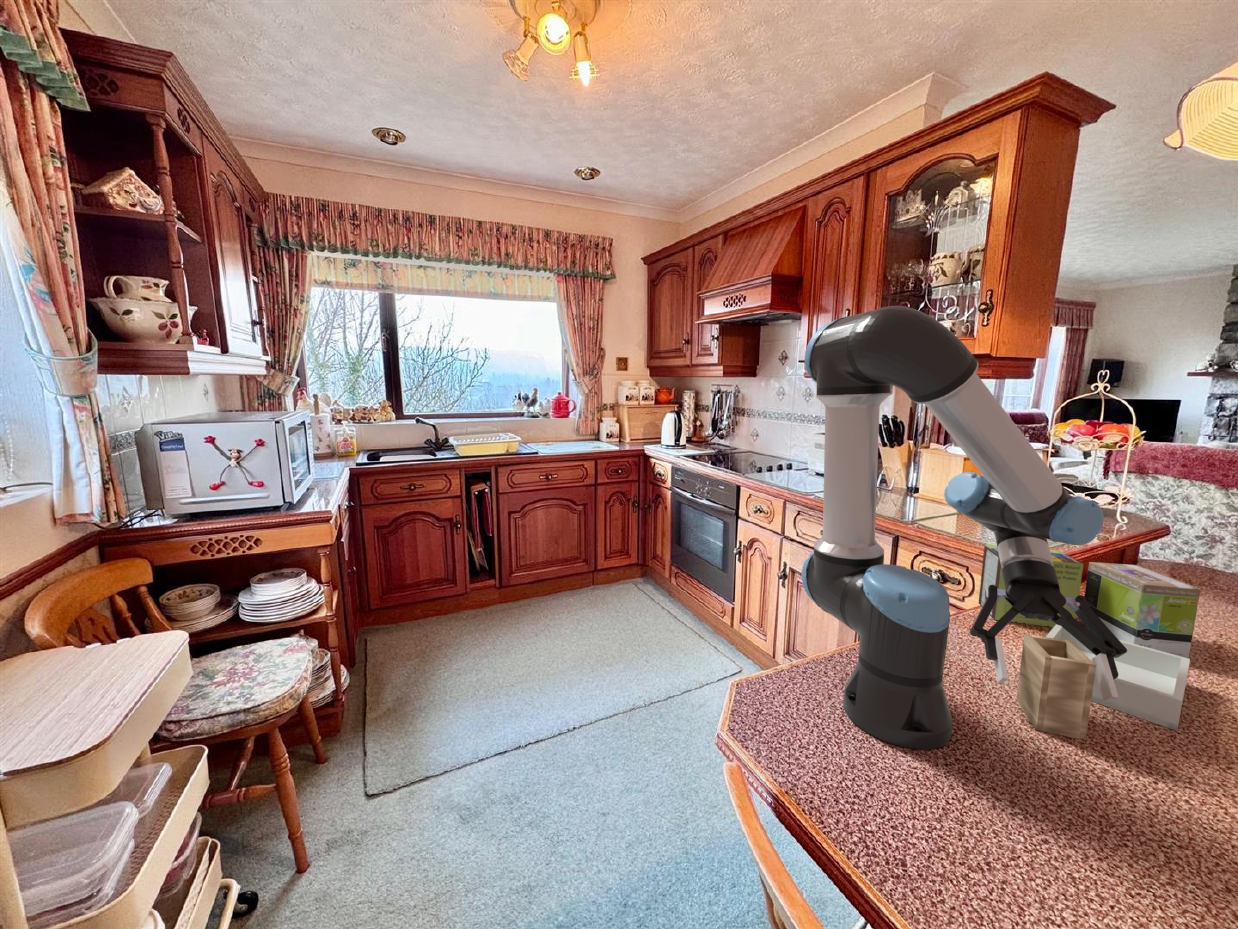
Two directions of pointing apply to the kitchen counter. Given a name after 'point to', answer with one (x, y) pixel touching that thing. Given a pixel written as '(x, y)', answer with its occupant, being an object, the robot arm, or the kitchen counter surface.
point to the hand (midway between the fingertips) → (1055, 690)
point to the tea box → (1143, 606)
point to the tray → (1142, 681)
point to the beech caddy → (1055, 686)
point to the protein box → (992, 575)
